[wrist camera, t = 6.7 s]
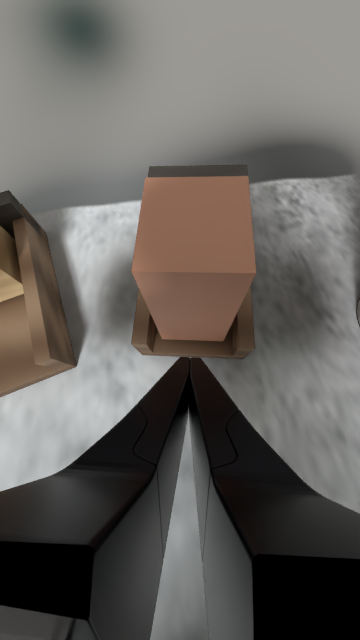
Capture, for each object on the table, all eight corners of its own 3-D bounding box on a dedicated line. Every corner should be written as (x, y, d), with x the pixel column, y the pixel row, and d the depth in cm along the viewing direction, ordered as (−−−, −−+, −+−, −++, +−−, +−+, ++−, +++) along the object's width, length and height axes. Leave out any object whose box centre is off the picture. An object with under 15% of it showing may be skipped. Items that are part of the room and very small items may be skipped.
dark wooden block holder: (243, 358, 17) (261, 342, 13) (142, 354, 18) (124, 337, 13) (235, 212, 23) (246, 163, 18) (158, 213, 23) (149, 164, 19)
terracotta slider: (223, 341, 17) (256, 273, 8) (162, 339, 17) (131, 271, 8) (222, 282, 18) (248, 175, 10) (166, 282, 19) (145, 177, 10)
